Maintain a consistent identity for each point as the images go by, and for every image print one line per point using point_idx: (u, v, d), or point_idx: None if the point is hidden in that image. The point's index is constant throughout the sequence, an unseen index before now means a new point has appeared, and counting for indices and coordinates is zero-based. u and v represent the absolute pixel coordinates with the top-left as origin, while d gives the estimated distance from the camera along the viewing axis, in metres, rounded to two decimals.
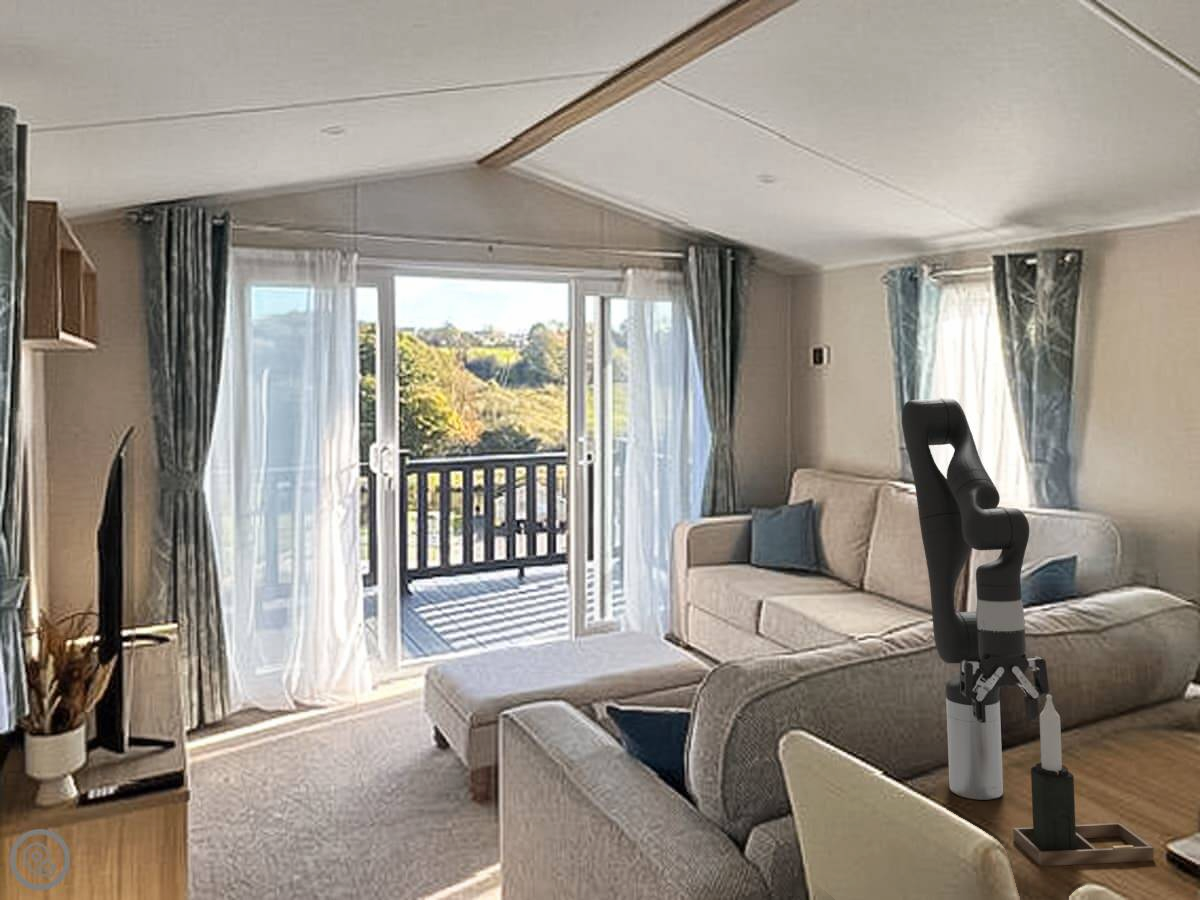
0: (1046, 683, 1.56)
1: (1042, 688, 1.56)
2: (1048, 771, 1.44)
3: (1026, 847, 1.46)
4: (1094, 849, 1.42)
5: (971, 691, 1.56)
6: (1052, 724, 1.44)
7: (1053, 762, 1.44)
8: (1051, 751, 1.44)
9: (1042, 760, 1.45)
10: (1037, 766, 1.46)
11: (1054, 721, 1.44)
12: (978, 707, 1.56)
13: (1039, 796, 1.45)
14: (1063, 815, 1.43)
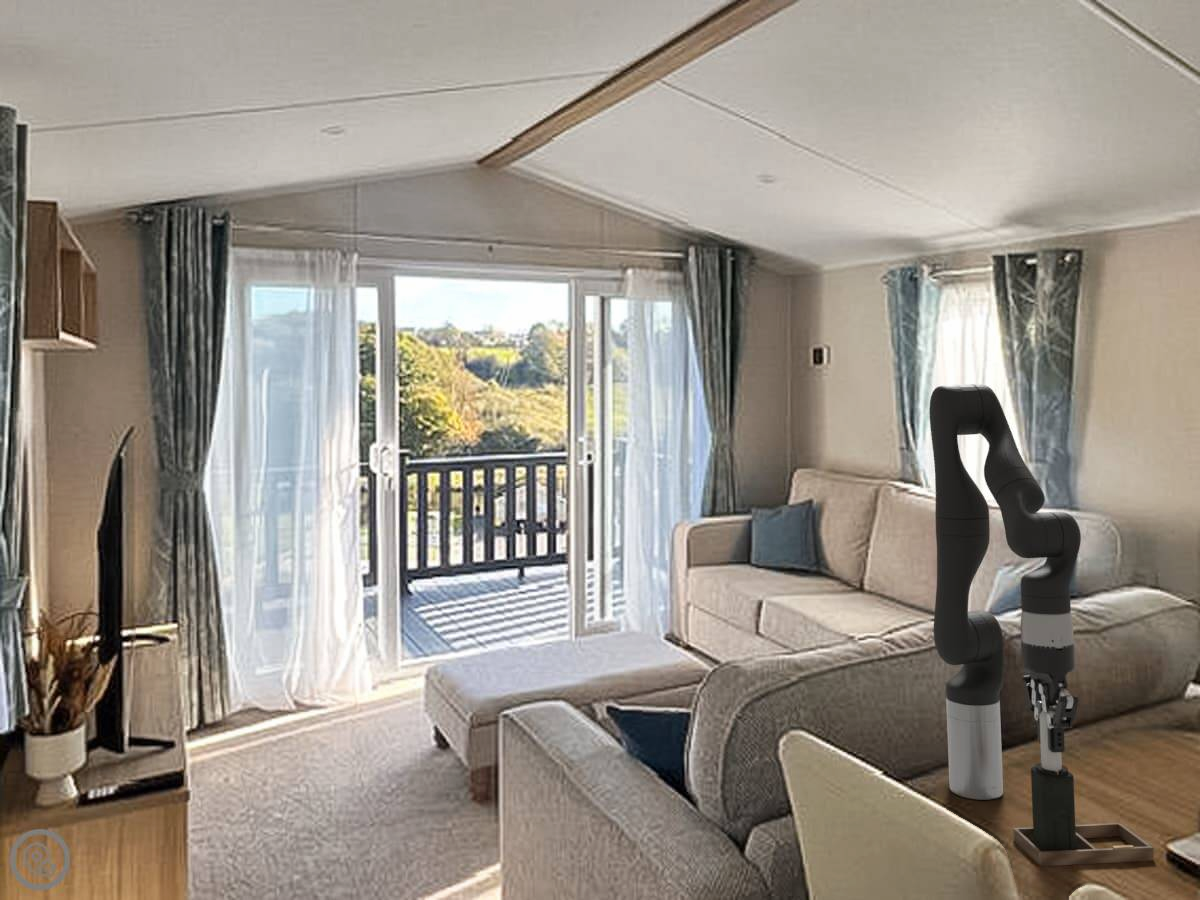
0: None
1: None
2: (1048, 771, 1.44)
3: (1026, 847, 1.46)
4: (1094, 849, 1.42)
5: None
6: None
7: (1053, 761, 1.44)
8: None
9: (1042, 760, 1.45)
10: (1037, 766, 1.46)
11: None
12: None
13: (1039, 796, 1.45)
14: (1063, 814, 1.43)
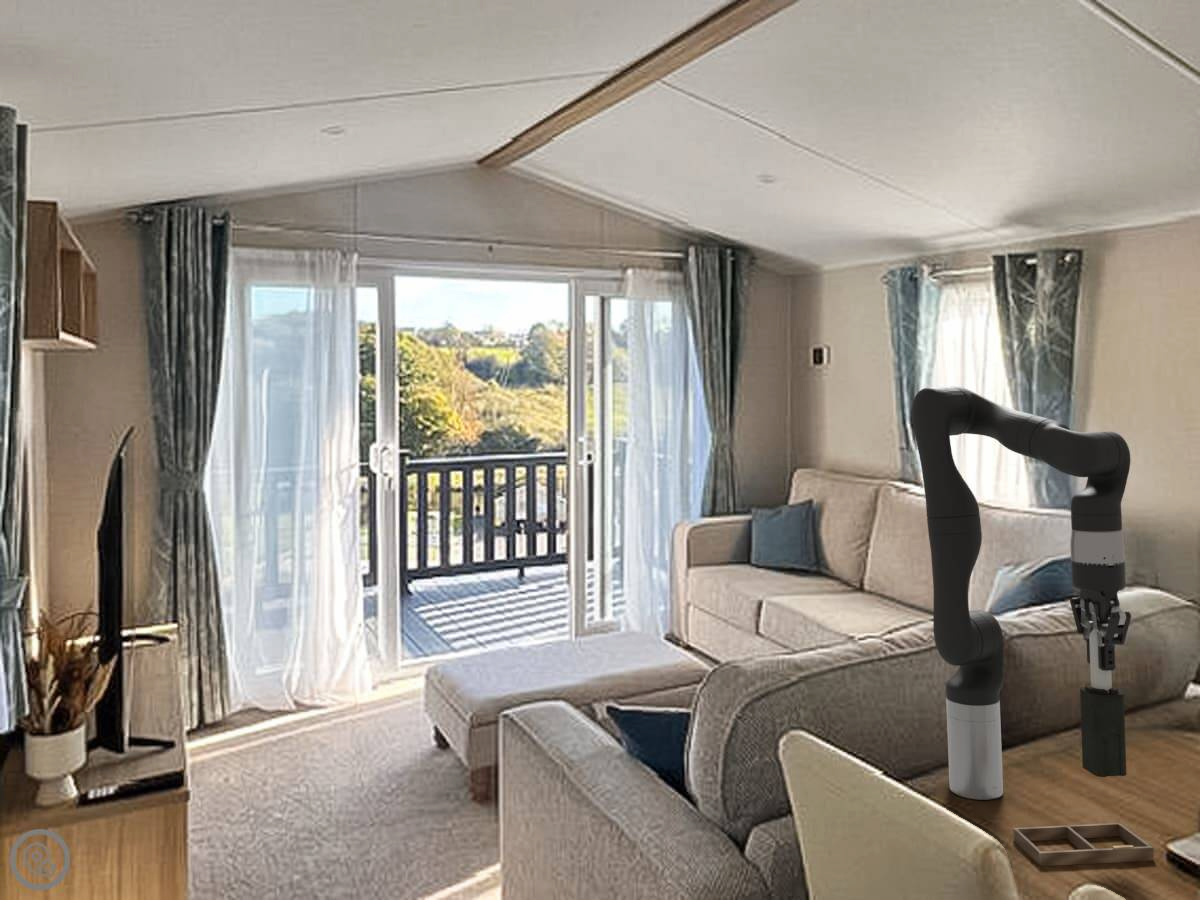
0: None
1: None
2: (1098, 689, 1.44)
3: (1026, 847, 1.46)
4: (1094, 849, 1.42)
5: None
6: None
7: (1103, 680, 1.44)
8: None
9: (1092, 679, 1.45)
10: (1086, 686, 1.46)
11: None
12: None
13: (1088, 715, 1.45)
14: (1114, 732, 1.43)
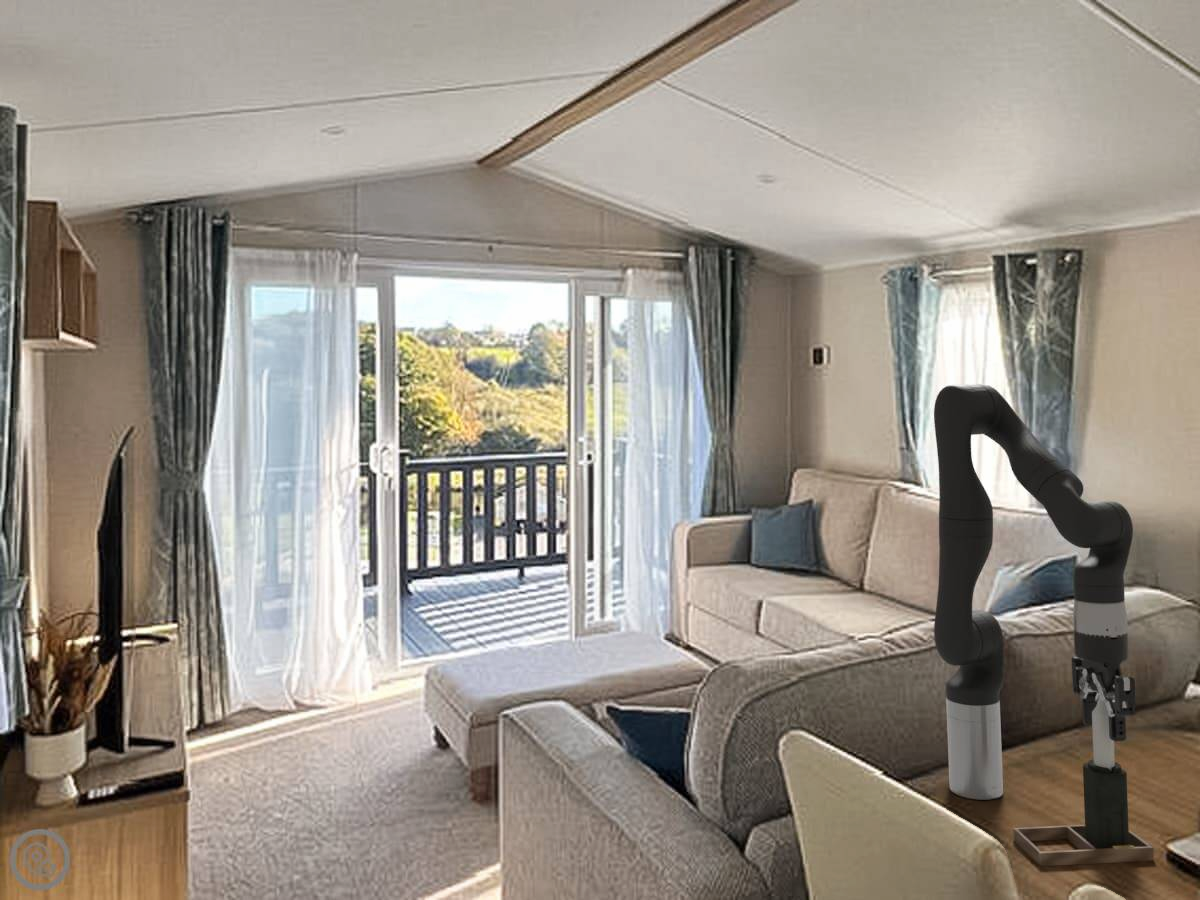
0: None
1: None
2: (1101, 768, 1.44)
3: (1026, 847, 1.46)
4: (1094, 849, 1.42)
5: None
6: (1105, 721, 1.44)
7: (1106, 758, 1.44)
8: (1103, 747, 1.44)
9: (1094, 757, 1.46)
10: (1089, 763, 1.46)
11: (1107, 718, 1.44)
12: None
13: (1091, 793, 1.45)
14: (1116, 811, 1.43)
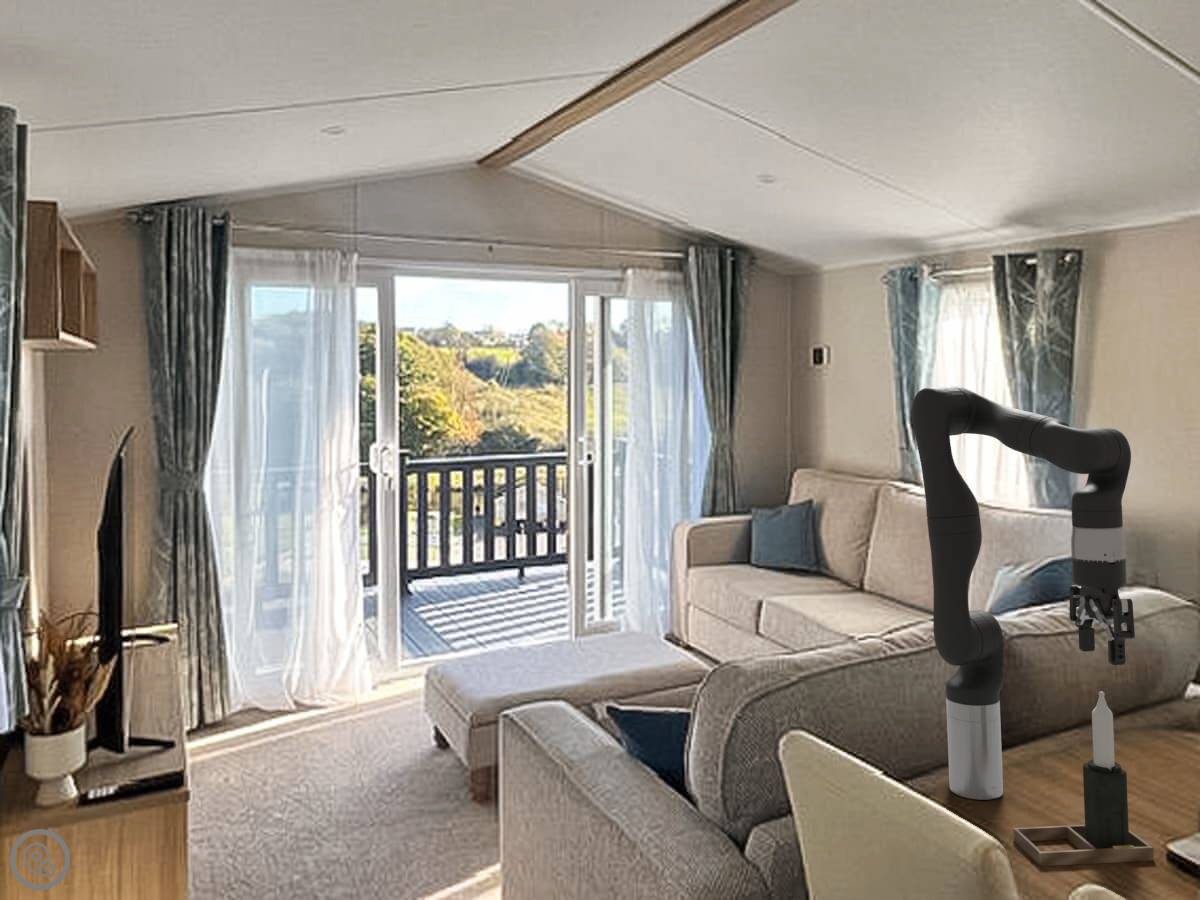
0: None
1: None
2: (1101, 768, 1.44)
3: (1026, 847, 1.46)
4: (1094, 849, 1.42)
5: None
6: (1105, 721, 1.44)
7: (1106, 758, 1.44)
8: (1103, 747, 1.44)
9: (1094, 757, 1.46)
10: (1089, 763, 1.47)
11: (1107, 718, 1.44)
12: None
13: (1091, 793, 1.45)
14: (1116, 811, 1.43)
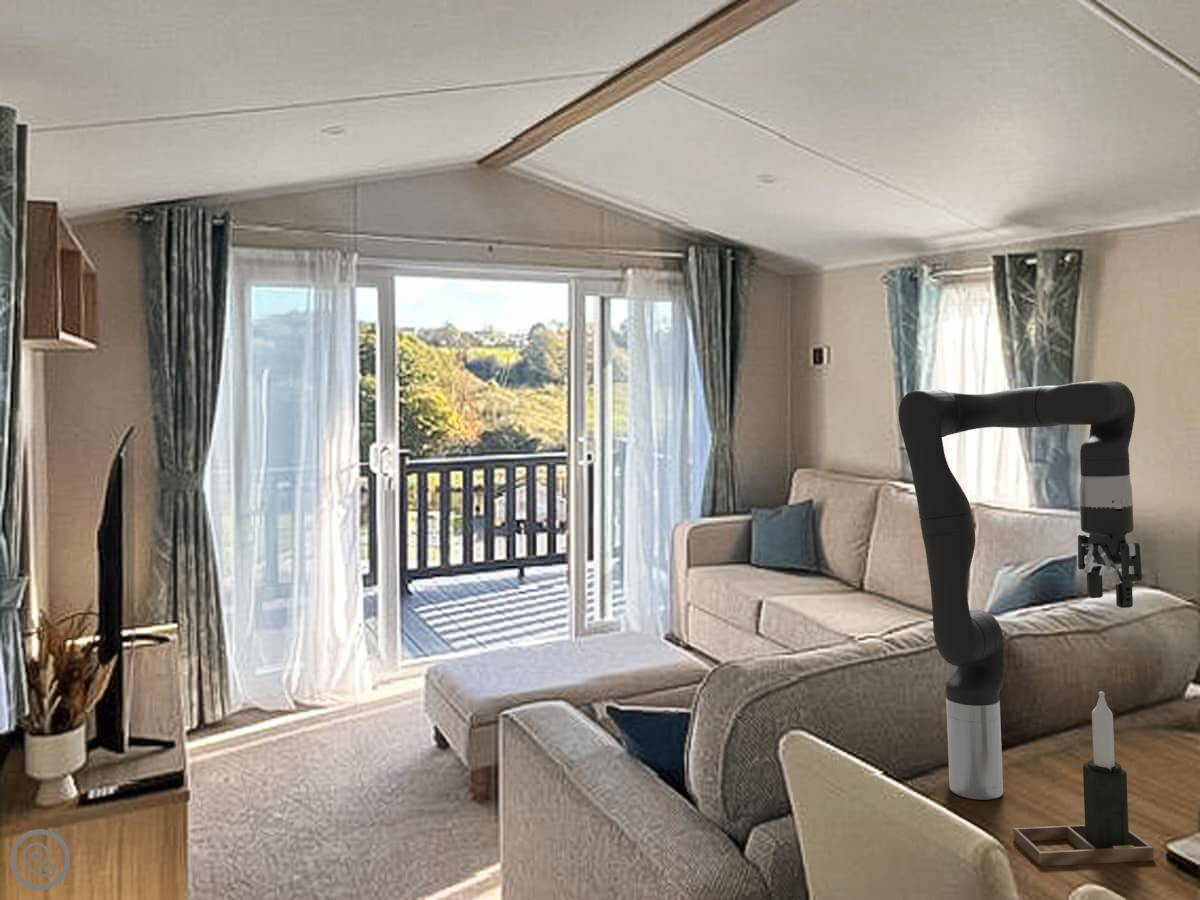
0: None
1: None
2: (1101, 768, 1.44)
3: (1026, 847, 1.46)
4: (1094, 849, 1.42)
5: None
6: (1105, 721, 1.44)
7: (1106, 758, 1.44)
8: (1103, 747, 1.44)
9: (1094, 757, 1.46)
10: (1089, 763, 1.47)
11: (1107, 718, 1.44)
12: None
13: (1091, 793, 1.45)
14: (1116, 811, 1.43)
